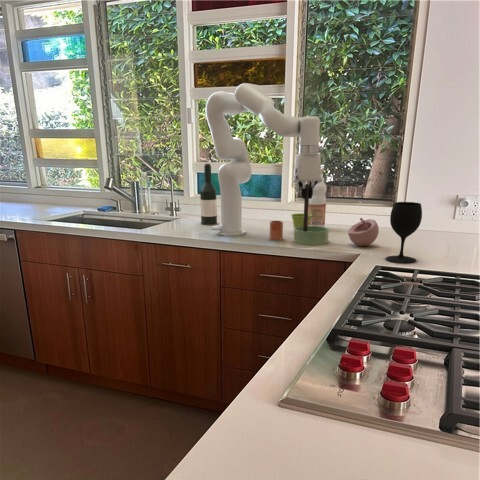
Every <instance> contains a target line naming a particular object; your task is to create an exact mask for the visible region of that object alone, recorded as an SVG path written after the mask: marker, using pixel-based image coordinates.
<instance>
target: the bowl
mask: <svg viewBox="0 0 480 480" xmlns="http://www.w3.org/2000/svg"><path fill="white" fill-rule="evenodd" d="M329 233H330V229H329V228H328V227H326V226H325V227H319V226H308V229H307V232H306V231H303V226H301V227H296V228H294V227H293V242H294V243H295V244H297V245H304V246H322V245H326V244H328V243H329Z"/></svg>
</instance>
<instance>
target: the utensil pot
mask: <svg viewBox="0 0 480 480" xmlns="http://www.w3.org/2000/svg"><path fill="white" fill-rule="evenodd" d="M283 237H284V221H282V220H270V221H269V240H270V241H282V240H283Z"/></svg>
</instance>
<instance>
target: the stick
mask: <svg viewBox="0 0 480 480" xmlns="http://www.w3.org/2000/svg"><path fill="white" fill-rule="evenodd" d="M309 186H310V184H309V183H306V186H305V187H306V189H307V193H306V199H303V201H304V203H303V214H304V221H303V231H306V232H307V229H308V207H309Z"/></svg>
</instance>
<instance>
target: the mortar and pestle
mask: <svg viewBox="0 0 480 480" xmlns="http://www.w3.org/2000/svg"><path fill="white" fill-rule="evenodd" d="M379 231H380V228H379V225H378V223H377V221H376V220H375V219H372V218H371V219H364V218H363V217H360V218H359V222H356V223H355V224H353V225H352V226H351V227H349V229H348V231H347V234H348V238H349V240H350V241H351V242H352V243H353V244H354V245H356V246H359V247H367V246H369V245H372V244H373V243H375V241H376V240H377V238H378V237H379Z"/></svg>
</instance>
